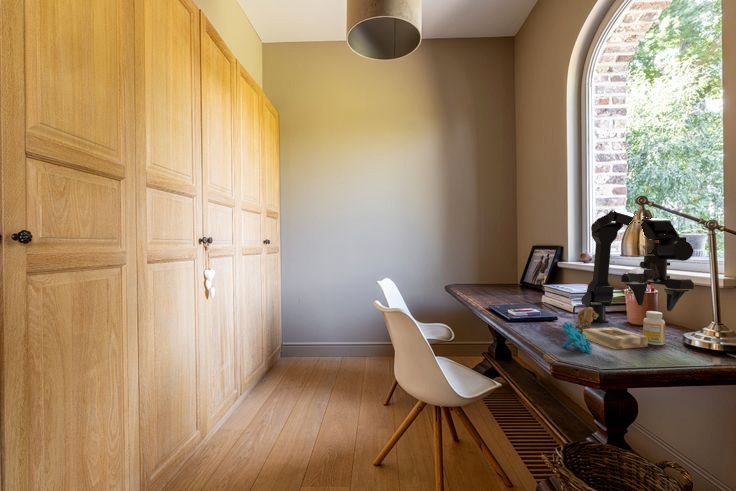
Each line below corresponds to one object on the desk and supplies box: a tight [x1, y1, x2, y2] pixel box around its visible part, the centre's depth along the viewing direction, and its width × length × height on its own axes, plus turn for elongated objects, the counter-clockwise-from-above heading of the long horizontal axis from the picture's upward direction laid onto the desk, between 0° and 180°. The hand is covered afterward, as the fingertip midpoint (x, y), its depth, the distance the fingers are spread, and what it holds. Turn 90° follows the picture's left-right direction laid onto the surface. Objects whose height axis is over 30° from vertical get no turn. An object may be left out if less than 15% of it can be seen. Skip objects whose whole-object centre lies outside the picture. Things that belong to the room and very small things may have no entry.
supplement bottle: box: [642, 310, 666, 346], centre depth 113 cm, size 5×5×10 cm
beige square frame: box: [582, 326, 649, 350], centre depth 114 cm, size 12×12×3 cm
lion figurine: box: [575, 307, 599, 332], centre depth 130 cm, size 15×5×9 cm, turn 166°
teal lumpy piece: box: [561, 321, 593, 354], centre depth 107 cm, size 11×6×10 cm
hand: (654, 308), depth 113 cm, fingers open, 9 cm apart
